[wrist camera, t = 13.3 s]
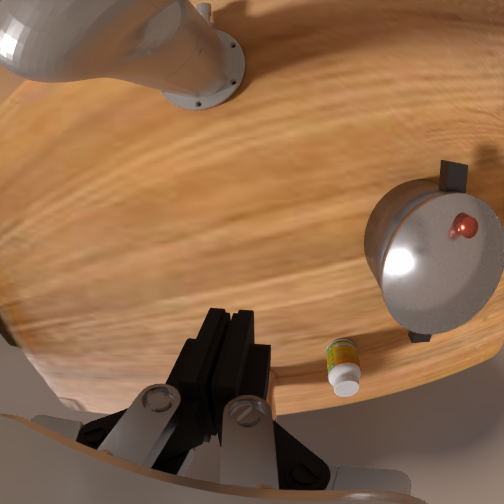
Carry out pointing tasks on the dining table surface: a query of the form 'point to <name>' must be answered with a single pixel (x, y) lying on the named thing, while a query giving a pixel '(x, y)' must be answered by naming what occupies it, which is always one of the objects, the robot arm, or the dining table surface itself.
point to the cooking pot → (399, 206)
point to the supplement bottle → (343, 367)
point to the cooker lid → (442, 263)
